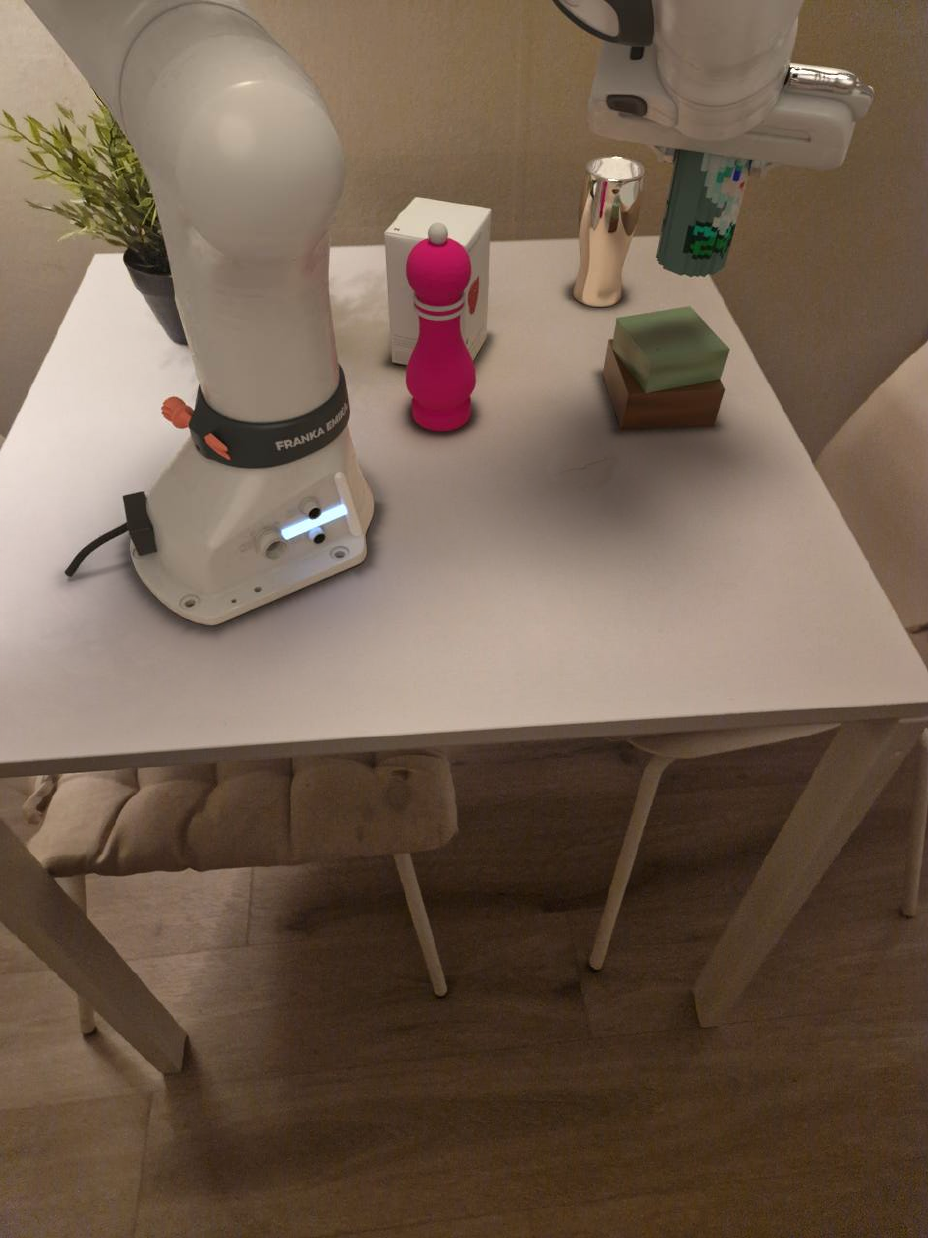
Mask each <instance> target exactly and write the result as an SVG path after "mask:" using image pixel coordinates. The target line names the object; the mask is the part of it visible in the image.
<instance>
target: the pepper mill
mask: <svg viewBox="0 0 928 1238" xmlns="http://www.w3.org/2000/svg"><path fill="white" fill-rule="evenodd" d="M428 237H429V238H426V239H424V240H422V241H420V242H419V243H417V244H416V245H415V246H414V247H413V248H412V250H411V252H410V253H409V255H408V258H407V262H406V277H407V280H408V283H409V285H410V286H411V288H412V289H413V290H414V292H413V297H412V298H413V301H414V302H413V309H414V311H415V312H416V313H417V314H418V317H419V336H418V341H417V343H416V346H415V348H414V350H413V352H412V354H411V356H410V359H409V362H408V365H406V370H405V385H406V389H407V391H408V392H409V394H410V395H411V396H412V398H411V415H412V418H413V420H414V421H415V422H416V424H417V425H419V426H420V427H421V428H424V429H426V430H428V431H429V430H430V431H434V432H446V431H447V432H448V431H449V432H450V431H453V430H456V429H459V428H460V427H463V426H465V424H466V423H467V422H468V421H469V420H470V418H471V415H472V399H471V395H472V393H474V390H475V388H476V383H477V376H476V367H475V364H474V360H473V361H472V358H471V355H470V353H469V351H468V349H467V347H466V345H465V343H464V340H463V338H462V335H461V330H460V317H461V314H462V313H463V312H464V310H465V308H466V303H465V299H466V294H465V291H464V290H465V288H466V287H467V286H468V284H469V281H470V279H471V262H470V258H469V255H468V253H467V251H466V250H465V248H464V247H463V246H462V245H461V244H460V243H459V242H457V241H455V240H453V239H451V238H447V237H448V230H447V228H446V226H445V225H444V224H442V223H438V222H437V223H434V224H432V225H431V226H430V227H429V230H428Z"/></svg>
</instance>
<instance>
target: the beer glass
mask: <svg viewBox="0 0 928 1238" xmlns="http://www.w3.org/2000/svg"><path fill="white" fill-rule="evenodd" d="M645 171H646V170H645V167H644V166H643V164H642V163H640V162H639V161H637V160H635V159H632V158H628V157H624V156H617V155H616V156H615V155H613V156H611V155H608V156H607V155H605V156H600V157H599V156H598V157H596V158H593V159H591V160H589V161H588V162H587V163H586V166H585V173H584V177H583V182H582V188H581V194H580V200H579V209H578V210H579V211H578V236H579V237H578V239H579V240H578V242H579V266H578V272H577V277H576V280H575V283H574V286H573V289H572V294H573V297H574V298H575V299H576V300H577V301H578V302H579V303H581V304H582V305H585V306H589V307H594V308H595V307H596V308H604V307H610V306H613V305H615V304H617V303H618V302H620V300H621V298H622V292H623V291H622V290H623V289H622V287H623V285H622V276H623V269H624V264H625V260H626V258H627V255H628V252H629V249H630V246H631V243H632V241H633V237H634V235H635V231H636V228H637V225H638V220H639V216H640V212H641V205H642V197H643V189H644V179H645Z"/></svg>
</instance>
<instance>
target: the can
mask: <svg viewBox="0 0 928 1238" xmlns="http://www.w3.org/2000/svg"><path fill="white" fill-rule="evenodd" d="M751 162H752V160H750V159H743V158H736V157H729V156H723V155H716V154H709V153H702V152H696V151H689V150H682V149H677V151H676V157H675V162H674V164H673V168H672V171H671V172H672V173H671V178H670V182H669V187H668V194H667V199H666V202H665V203H666V204H665V209H664V213H663V219H662V225H661V229H660V235H659V238H658V239H659V240H658V243H657V244H658V245H657V249H656V255H655V258H656V261H657V265H660V266H662V269H664V270H665V271H668V272H671V273H673V274H675V275H678V276H681V277H682V276H684V275H685V276H687V277H690V278H693V277H696V278H698V277H702V278H705V277H707V276H708V275H709V276H710V275H711V276H714V275H716V274H717V273H719V272H720V271H721V270H723V269H724V268H725V266H726V263H727V259H728V256H729V252H730V248H731V244H732V240H733V237H734V233H735V228H736V225H737V222H738V217H739V214H740V210H741V206H742V203H743V202H742V201H743V198H744V195H745V193H746V192H745V191H746V188H747V183H748V179H749V177H750V176H749V175H748V174H749V169H750V165H751Z"/></svg>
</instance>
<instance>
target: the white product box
mask: <svg viewBox="0 0 928 1238" xmlns="http://www.w3.org/2000/svg"><path fill="white" fill-rule="evenodd" d="M437 222H438V223H442V224H444V225H445V226H446V228H447V230H448V237H447V238H451V239H453V240H455V241H457V242H459V243H460V244H461V245H462V246H463V247H464V248H465V250H466V251H467V253H468V255H469V258H470V262H471V279H470V281H469V284H468V286H467V287H466V288H465V290H464V291H465V294H466V299H465V303H466V308H465V310H464V312H463V313H462V314H461V317H460V330H461V335H462V338H463V340H464V343H465V345H466V347H467V349H468V351H469V353H470V355H471V358H472V361H473V362H474V360H475V359H476V357H477V355H478V354H479V352H480V350H481V348H482V347H483V345H484V343H485V341H486V339H487V336H488V314H489V313H488V312H489V311H488V310H489V285H490V284H489V283H490V255H491V253H490V252H491V226H492V225H491V224H492V209H491V208H487V207H482V206H477V205H469V204H463V203H462V204H461V203H455V202H448V201H442V200H437V199H432V198H426V197H425V198H424V197H418V196H416V197H414V198H413V199H412V200H411V201H410V202H409V203H408V205H406V207H405V208H404V209H403V210H402V211H400V212H399V214H398V215H397V216H396V218H395V220H394V221H393V222H392V223H391V224H390V225H389V226H388V227H387V228H386V230H385V231H384V232H383V235H384V250H385V268H386V285H387V301H388V302H387V304H388V317H389V332H390V333H389V334H390V351H391V362H392V363H395V364H399V365H405V366H407V365H408V362H409V359H410V356H411V354H412V352H413V350H414V348H415V346H416V343H417V341H418V336H419V317H418V314H417V313H416V312H415V311H414V309H413V302H414V301H413V298H412V297H413V292H414V290H413V289H412V288H411V286H410V285H409V283H408V280H407V277H406V262H407V258H408V255H409V253H410V252H411V250H412V248H413V247H414V246H415V245H416V244H417V243H419V242H420V241H422V240H424V239H426V238H429V237H428V230H429V227H430V226H431V225H432V224H434V223H437Z"/></svg>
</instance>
